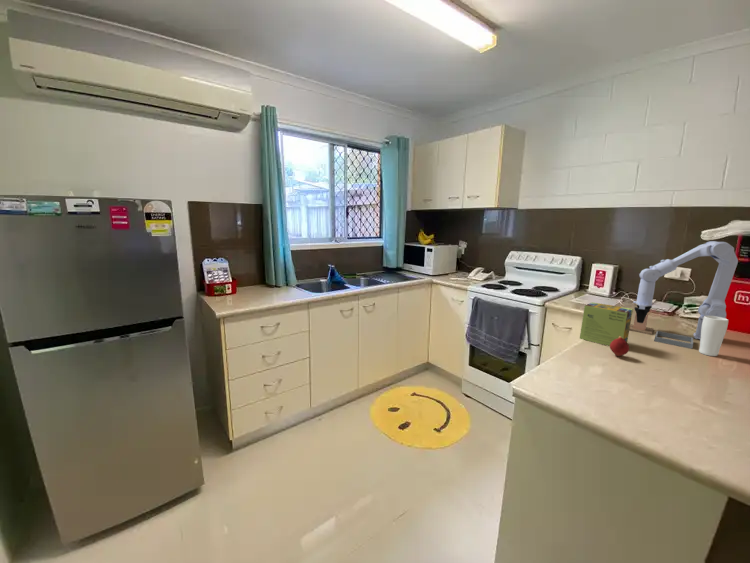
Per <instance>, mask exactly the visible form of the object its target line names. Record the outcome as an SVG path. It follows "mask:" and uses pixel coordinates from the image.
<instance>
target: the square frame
mask: <svg viewBox="0 0 750 563" xmlns="http://www.w3.org/2000/svg"><path fill="white" fill-rule="evenodd" d="M659 336H660V337H659ZM664 337H665V338H664ZM679 340H680V341H679ZM653 342H658V343H662V344H666V345H667V344H668V345H671V346H676V347H681V348H686V349H693V347H694V336H693V337H692V336H689V335H682V334H677V333H671V332H666V331H662V330H657V331H656V332H655V336H654V340H653ZM689 342H690V343H689Z"/></svg>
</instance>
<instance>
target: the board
mask: <svg viewBox="0 0 750 563" xmlns="http://www.w3.org/2000/svg"><path fill="white" fill-rule="evenodd" d="M633 326H634V324H631V323H630V329H629V332H636V333H641V334H647V335H651V336H652V335H653V333H654V330H655V328H654V327H647V326H646V329H645V330H640V329H635V328H633Z"/></svg>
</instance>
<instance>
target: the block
mask: <svg viewBox="0 0 750 563" xmlns="http://www.w3.org/2000/svg"><path fill="white" fill-rule="evenodd" d="M648 318H649V314H648V313H647V315H646V317H645V320H644V322H643V323H638V322H637V315H636V313H635V316H634V320H633V325H634V326H633V328H635V329H640V330H645V329H646V327H647V323H648Z"/></svg>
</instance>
